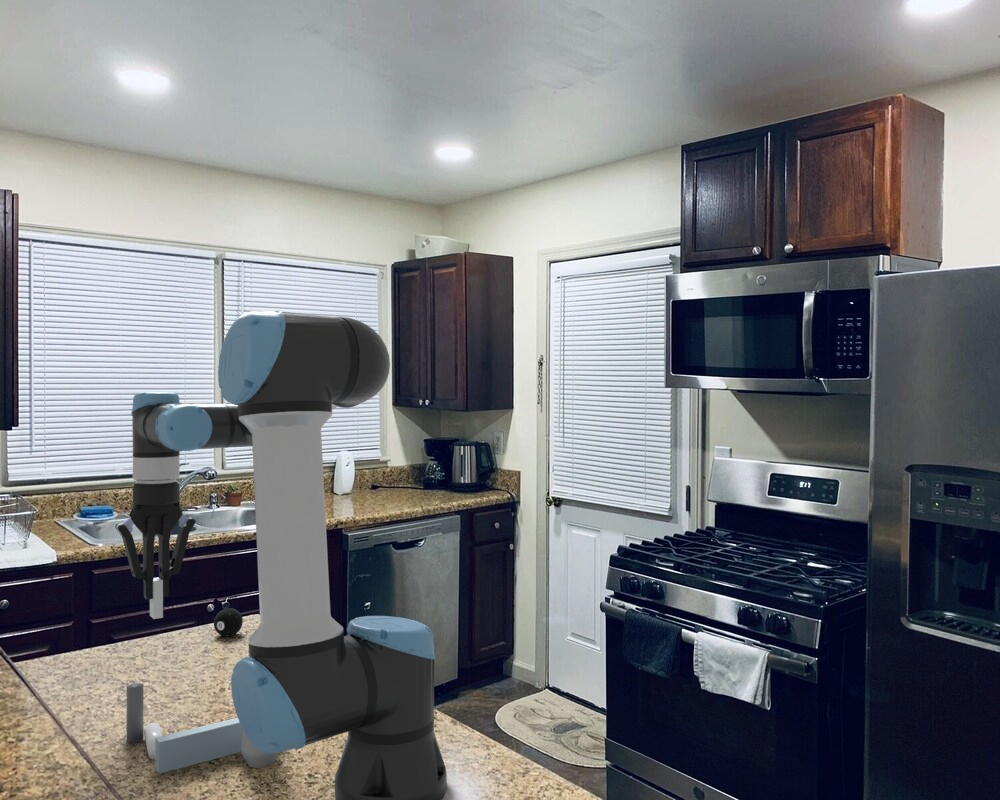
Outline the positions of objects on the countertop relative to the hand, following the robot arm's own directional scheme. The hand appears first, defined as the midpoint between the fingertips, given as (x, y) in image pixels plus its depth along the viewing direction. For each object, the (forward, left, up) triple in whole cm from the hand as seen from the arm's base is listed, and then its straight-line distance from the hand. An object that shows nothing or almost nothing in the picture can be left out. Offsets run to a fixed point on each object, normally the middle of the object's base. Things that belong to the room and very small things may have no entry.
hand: (156, 616), depth 140 cm
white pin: (-13, +4, -14) cm, 20 cm away
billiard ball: (+33, -24, -16) cm, 44 cm away
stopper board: (-26, -3, -15) cm, 30 cm away
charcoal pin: (-13, +6, -15) cm, 21 cm away
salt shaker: (-32, -7, -16) cm, 36 cm away
